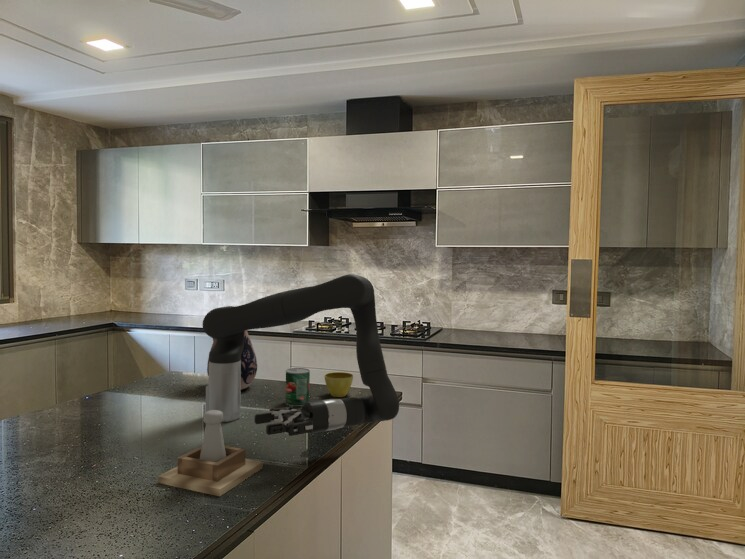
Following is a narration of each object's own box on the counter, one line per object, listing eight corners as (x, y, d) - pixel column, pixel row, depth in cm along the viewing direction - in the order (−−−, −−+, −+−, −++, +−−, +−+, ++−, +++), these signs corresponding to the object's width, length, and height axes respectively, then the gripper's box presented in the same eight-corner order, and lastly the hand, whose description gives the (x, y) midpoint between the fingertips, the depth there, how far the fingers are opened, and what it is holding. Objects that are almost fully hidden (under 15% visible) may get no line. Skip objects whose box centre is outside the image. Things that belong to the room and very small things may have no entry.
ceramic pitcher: (231, 397, 188) (232, 324, 187) (189, 388, 199) (189, 318, 198) (267, 387, 203) (268, 319, 202) (226, 379, 214) (226, 314, 213)
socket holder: (158, 483, 120) (158, 460, 119) (205, 457, 134) (205, 437, 134) (220, 496, 114) (220, 472, 113) (262, 468, 129) (262, 447, 128)
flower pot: (320, 393, 197) (320, 373, 196) (346, 390, 201) (347, 371, 200) (329, 400, 187) (329, 379, 187) (357, 397, 191) (357, 377, 191)
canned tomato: (314, 402, 184) (314, 369, 184) (298, 408, 178) (299, 374, 177) (295, 398, 188) (296, 366, 188) (280, 404, 182) (280, 370, 181)
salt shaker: (218, 475, 121) (218, 416, 120) (194, 472, 122) (194, 414, 121) (230, 465, 126) (231, 408, 126) (207, 462, 127) (207, 406, 127)
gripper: (312, 393, 143) (251, 401, 135) (337, 407, 131) (271, 417, 123) (312, 422, 143) (251, 431, 135) (336, 439, 131) (270, 450, 123)
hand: (260, 424), depth 129 cm, fingers open, 8 cm apart
